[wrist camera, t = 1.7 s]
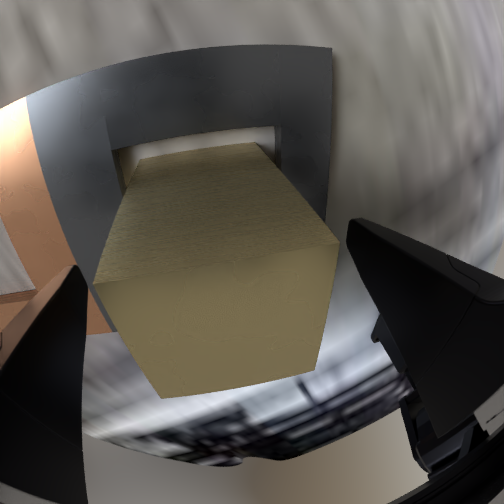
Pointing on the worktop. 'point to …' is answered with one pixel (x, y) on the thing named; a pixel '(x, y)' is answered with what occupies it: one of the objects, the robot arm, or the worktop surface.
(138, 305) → the wooden block
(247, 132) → the worktop surface
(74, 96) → the frame with rectangular openings
